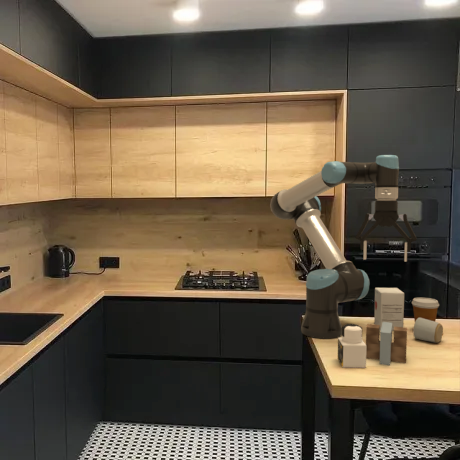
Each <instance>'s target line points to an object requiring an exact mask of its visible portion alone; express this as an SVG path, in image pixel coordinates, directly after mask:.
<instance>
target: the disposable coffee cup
mask: <svg viewBox="0 0 460 460" xmlns="http://www.w3.org/2000/svg"><path fill="white" fill-rule="evenodd" d="M411 304H412V308H413V309H412V310H413V316H414V317H413V318H414V319H413V320H414V322H415V321H416V320H417V318H424V319H427V320H431V321H435V322H437V321H436V319H437V313H438V308H439V307H440V303H439V301H438V300H437V299H435V298H430V297H414V298H413V299H412V301H411Z"/></svg>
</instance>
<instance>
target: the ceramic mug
mask: <svg viewBox="0 0 460 460" xmlns="http://www.w3.org/2000/svg"><path fill="white" fill-rule="evenodd" d="M443 334H444V327H443V325H442V324H441V322H438V321H431V320H427V319H424V318H417V320H416V321H415V320H414V324H413V337H414V339H416V340H421V341H425V342H429V343H434V344H435V343H436V344H437V343H439V342H441V340H442V338H443Z"/></svg>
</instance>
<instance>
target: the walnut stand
mask: <svg viewBox="0 0 460 460" xmlns="http://www.w3.org/2000/svg"><path fill="white" fill-rule="evenodd" d="M380 332H381V331H380V325H375V324H374V323H367V324H366V327H365V344H366V359H371V360H379V361H380ZM407 341H408V327H404V326H403V327H395V326H394V331H393V339H392V342H391V361H390V362H396V363H403V364H406V363H407V345H408V344H407Z"/></svg>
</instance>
